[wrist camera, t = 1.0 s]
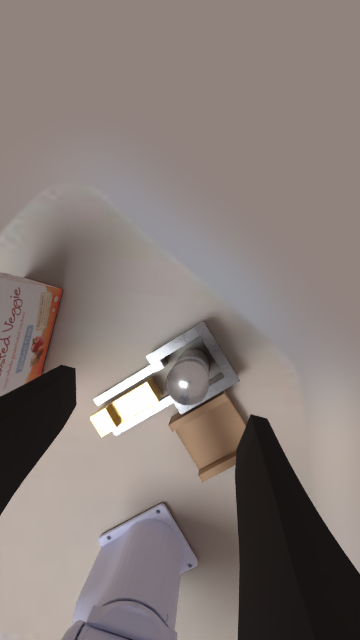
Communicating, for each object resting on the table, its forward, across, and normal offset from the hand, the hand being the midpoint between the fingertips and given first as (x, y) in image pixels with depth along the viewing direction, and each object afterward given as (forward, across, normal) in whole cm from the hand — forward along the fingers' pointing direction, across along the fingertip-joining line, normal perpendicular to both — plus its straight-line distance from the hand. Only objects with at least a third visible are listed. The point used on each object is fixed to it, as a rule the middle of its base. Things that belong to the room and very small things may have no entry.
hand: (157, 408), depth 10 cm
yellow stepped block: (+14, +5, +15) cm, 21 cm away
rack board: (+14, -5, +16) cm, 21 cm away
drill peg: (+17, -1, +9) cm, 19 cm away
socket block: (+15, +2, +12) cm, 20 cm away
